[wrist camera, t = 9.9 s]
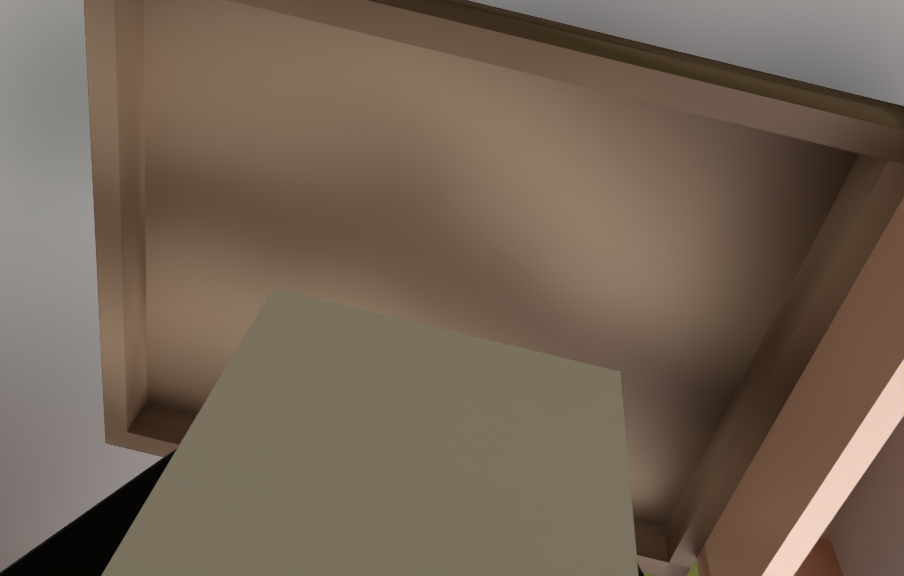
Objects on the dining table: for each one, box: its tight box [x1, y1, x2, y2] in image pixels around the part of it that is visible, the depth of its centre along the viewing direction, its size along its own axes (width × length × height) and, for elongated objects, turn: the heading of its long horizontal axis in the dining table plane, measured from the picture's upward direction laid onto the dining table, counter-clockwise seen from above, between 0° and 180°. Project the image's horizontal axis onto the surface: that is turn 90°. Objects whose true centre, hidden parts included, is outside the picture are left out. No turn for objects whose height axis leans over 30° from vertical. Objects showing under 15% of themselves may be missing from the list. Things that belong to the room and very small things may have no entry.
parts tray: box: [84, 0, 904, 576], centre depth 19 cm, size 13×16×2 cm
